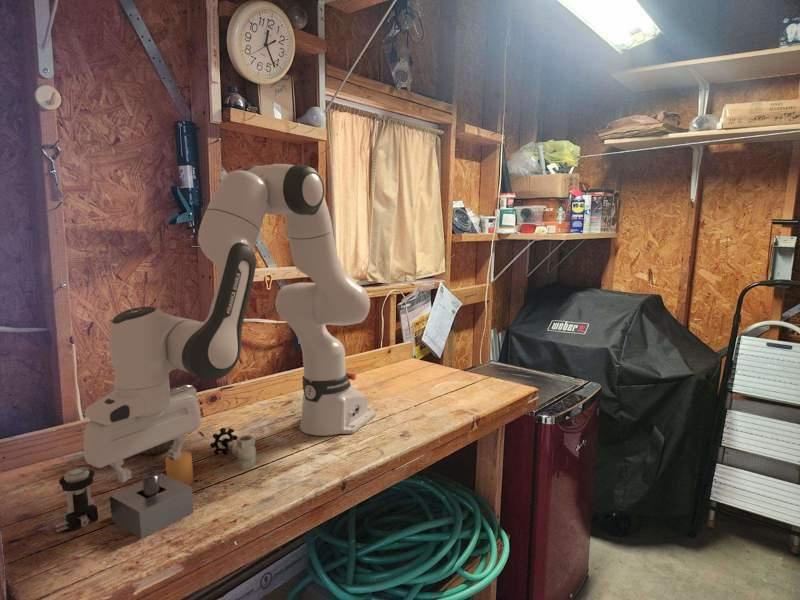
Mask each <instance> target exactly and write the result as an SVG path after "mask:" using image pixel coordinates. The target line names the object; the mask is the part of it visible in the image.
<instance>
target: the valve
mask: <svg viewBox="0 0 800 600" xmlns="http://www.w3.org/2000/svg"><path fill="white" fill-rule="evenodd" d="M219 431H220V433H219V434H218V433H213V434H212V438H213V439H215V440H214V442H211V443H210V444H209V446H210V448H212V449H214V450H213V454H214V455H216V456H219V455H223V456H227V455H228V453H229V452H228V451H229V450H231V452H232V453H233V455H235V456H237V459H238V460H237V464H238V468H239V469H242V470H249V469H253V468H254V467H255V466H256V464H257V459H256V455H257V448H256V446H255V444H256V439H255V436H253V435H249V434H248V435H246V434H245V435H242V436H239V437H238V436H237V435H235V434H232V433H234V432H235V430H234V429H233V428H228V429H227V428H225V427H221V428H220V429H219ZM225 435H227V436H228V437H224V436H225ZM222 436H223V437H222ZM235 441H236V442H235ZM219 443H220V445H222V447H220V446H219ZM220 452H221V454H220Z"/></svg>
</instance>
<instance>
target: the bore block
mask: <svg viewBox="0 0 800 600" xmlns="http://www.w3.org/2000/svg"><path fill="white" fill-rule="evenodd" d="M158 478H159V490H160V493H158V494H156V495H154V496H152V497H150V498H148V499H146V498H144V490H143V480H142V481H140V482H138V483H136V484H132V485H131V486H128V487H126V488H123V489H122V490H119V491H117V492H114V493H112V494H110V495H109V503H110V512H111V513H110V514H111V522H113V523H114V524H115V525H118V526H119V527H121V528H122V529H124V530H126V531H128V532H130V533H131V534H133V535H134V536H136V537H138V538H139V539H141V540H143V539H144V538H145V539H146V538H148V537H149V536H151V535H153V534H154V533H156V532H159V531H160V530H162V529H164V528H165V527H168V526H169V525H171V524H173V523H175V522H178V521H179V520H182V519H183V518H184V517H186V516H189V515H190V514H192V513H194V499H193V487H192V485H190V486H189V485H186V484H184V483H182V482H180V481H178V480H175V479H173V478H171V477H169V476H167V474H164V473H163V472H162V473H158Z"/></svg>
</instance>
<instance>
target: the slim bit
mask: <svg viewBox="0 0 800 600" xmlns="http://www.w3.org/2000/svg"><path fill="white" fill-rule="evenodd" d="M158 475H159V473H158V472H150V473H146V474H144V475H143V476H142V481H143V490H144V498H146V499H148V498H150V497H152V496H154V495H156V494H158V493H160V490H159V478H158Z"/></svg>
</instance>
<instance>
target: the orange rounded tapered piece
mask: <svg viewBox="0 0 800 600" xmlns="http://www.w3.org/2000/svg"><path fill="white" fill-rule="evenodd" d="M180 454H181V458H179V459H177V460H174V461H172V460H170V459H169V457H168V456H169V455H167V456H166V457H165V472H166V476H169V477H171V478H173V479H175V480H178V481H180V482H182V483H184V484H186V485H189V486H192V485H191V484H192V483H193V484H194V473H193V472H194V471H193V470H194V469H193V457H192V453H191V452H189V451H180Z"/></svg>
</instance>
